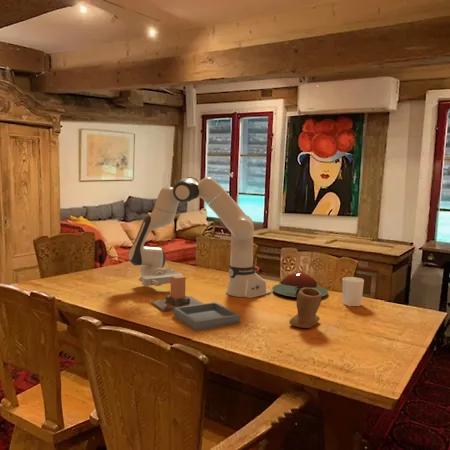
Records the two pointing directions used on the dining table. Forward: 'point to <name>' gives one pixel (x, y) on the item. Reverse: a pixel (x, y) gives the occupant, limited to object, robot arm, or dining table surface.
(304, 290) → the stone cup
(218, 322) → the tray
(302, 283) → the red dome on disc
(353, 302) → the candle holder
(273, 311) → the dining table surface
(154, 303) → the holder
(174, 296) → the terracotta block
